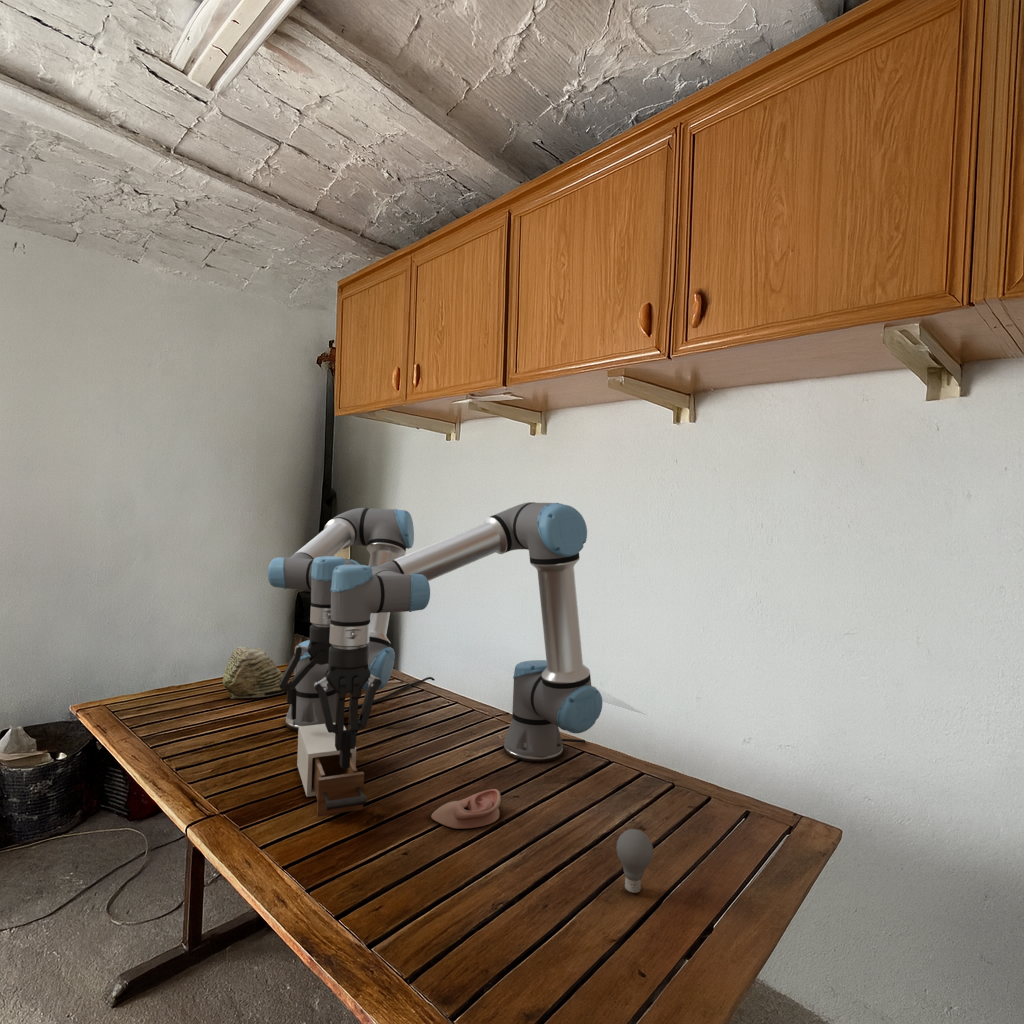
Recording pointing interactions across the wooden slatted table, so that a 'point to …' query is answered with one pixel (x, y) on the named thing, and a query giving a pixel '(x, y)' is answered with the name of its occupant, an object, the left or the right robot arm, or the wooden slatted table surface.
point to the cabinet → (315, 751)
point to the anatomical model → (470, 811)
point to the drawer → (337, 786)
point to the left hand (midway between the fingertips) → (324, 714)
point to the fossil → (251, 674)
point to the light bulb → (634, 857)
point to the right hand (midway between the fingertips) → (344, 765)
